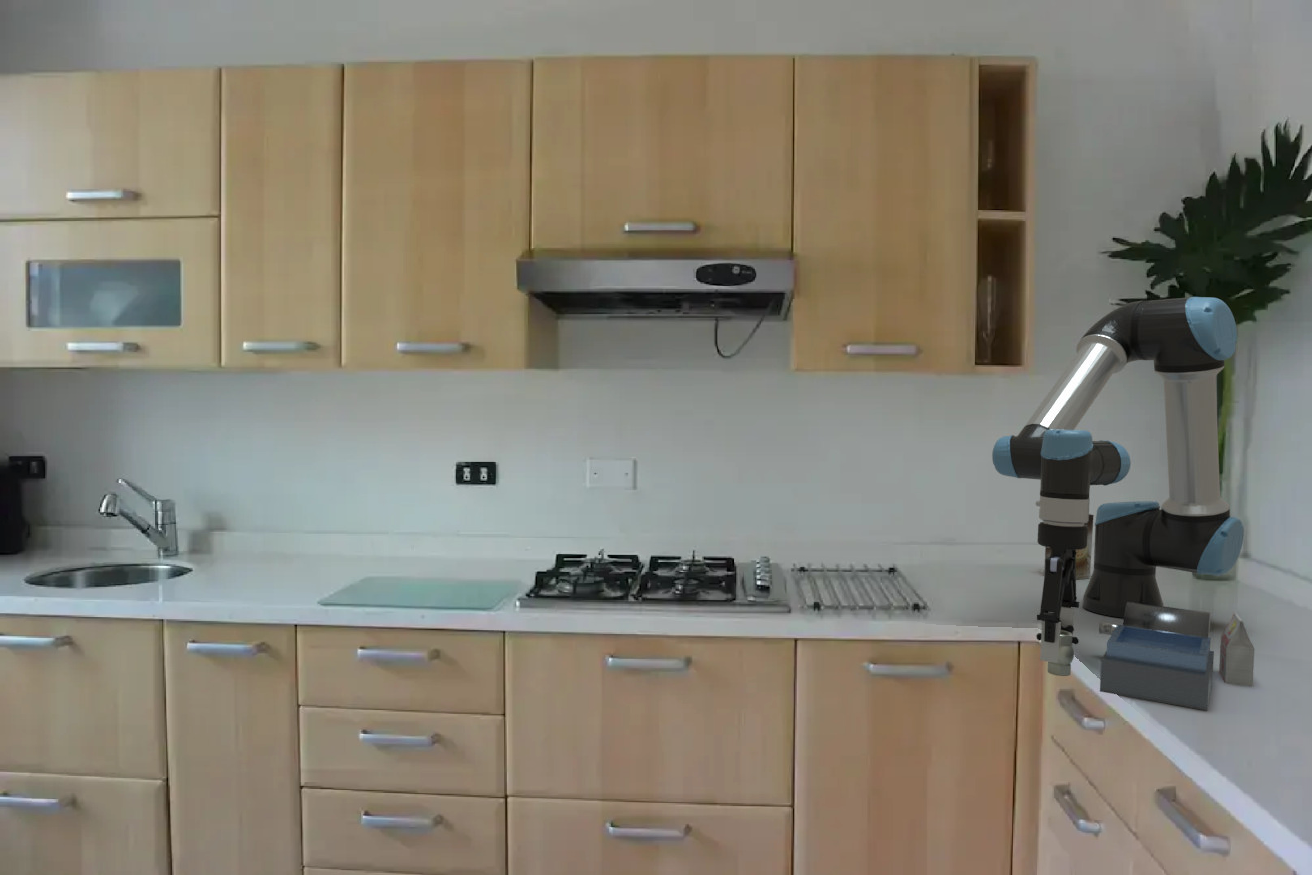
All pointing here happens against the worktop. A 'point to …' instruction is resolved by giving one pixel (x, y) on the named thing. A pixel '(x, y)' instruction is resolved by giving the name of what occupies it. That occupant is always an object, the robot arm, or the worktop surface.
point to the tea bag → (1236, 654)
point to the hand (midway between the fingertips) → (1056, 653)
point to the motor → (1159, 656)
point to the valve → (1063, 652)
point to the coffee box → (1081, 554)
